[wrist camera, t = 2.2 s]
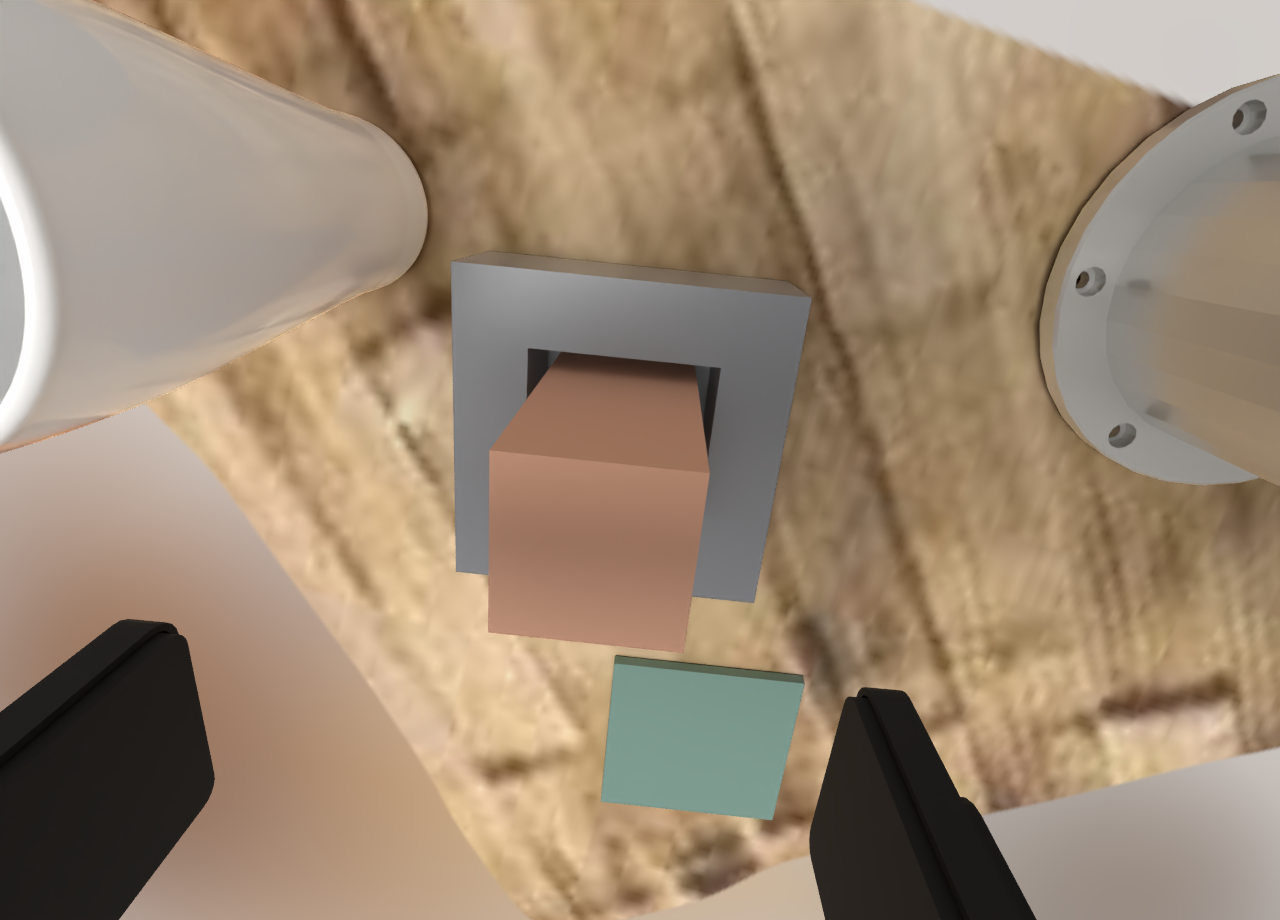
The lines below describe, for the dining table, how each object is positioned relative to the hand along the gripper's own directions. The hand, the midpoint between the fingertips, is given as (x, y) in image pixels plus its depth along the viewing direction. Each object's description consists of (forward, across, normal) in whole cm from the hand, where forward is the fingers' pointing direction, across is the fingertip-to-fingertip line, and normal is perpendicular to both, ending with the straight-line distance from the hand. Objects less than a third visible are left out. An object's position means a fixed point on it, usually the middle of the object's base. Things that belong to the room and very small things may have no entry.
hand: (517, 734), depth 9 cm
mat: (+15, -5, +15) cm, 22 cm away
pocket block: (+15, -1, 0) cm, 15 cm away
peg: (+15, -1, 0) cm, 15 cm away
